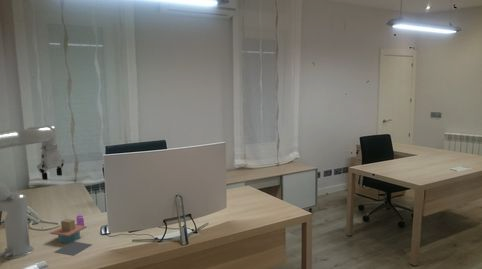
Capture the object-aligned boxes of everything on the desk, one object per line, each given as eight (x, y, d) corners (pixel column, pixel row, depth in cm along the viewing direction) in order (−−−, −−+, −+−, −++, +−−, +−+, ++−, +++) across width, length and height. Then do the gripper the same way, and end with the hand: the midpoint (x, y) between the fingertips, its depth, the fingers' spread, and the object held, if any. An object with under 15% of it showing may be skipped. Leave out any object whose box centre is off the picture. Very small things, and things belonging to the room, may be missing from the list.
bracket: (83, 225, 209) (82, 214, 208) (84, 228, 204) (83, 217, 203) (59, 229, 203) (58, 218, 202) (60, 232, 198) (59, 221, 197)
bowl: (69, 244, 182) (68, 235, 181) (54, 241, 185) (53, 233, 184) (83, 236, 191) (83, 228, 191) (69, 234, 195) (68, 226, 194)
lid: (68, 236, 180) (67, 226, 179) (50, 233, 184) (49, 223, 183) (86, 227, 191) (85, 217, 191) (68, 225, 195) (68, 215, 195)
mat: (73, 256, 168) (73, 255, 168) (53, 253, 172) (53, 252, 172) (92, 245, 180) (92, 244, 180) (73, 242, 184) (73, 241, 184)
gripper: (41, 150, 181) (44, 181, 183) (67, 145, 197) (69, 174, 199) (30, 150, 183) (33, 180, 185) (57, 145, 199) (59, 173, 201)
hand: (52, 177), depth 192 cm, fingers open, 9 cm apart
